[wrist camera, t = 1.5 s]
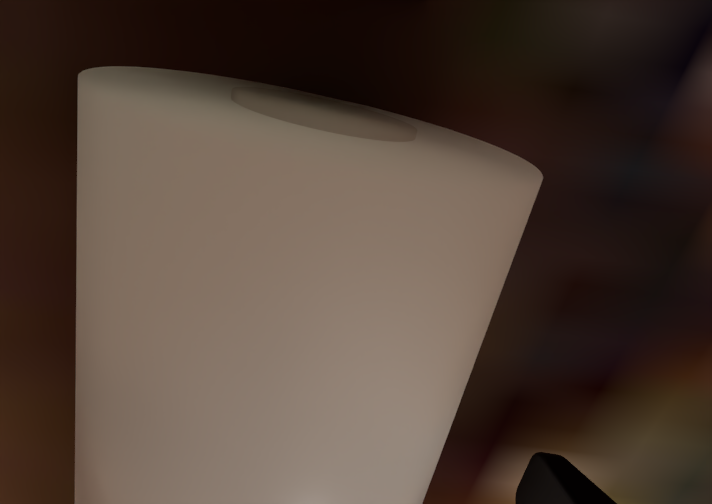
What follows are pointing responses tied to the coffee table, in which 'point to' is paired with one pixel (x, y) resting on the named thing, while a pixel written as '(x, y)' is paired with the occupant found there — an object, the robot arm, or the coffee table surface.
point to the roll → (276, 290)
